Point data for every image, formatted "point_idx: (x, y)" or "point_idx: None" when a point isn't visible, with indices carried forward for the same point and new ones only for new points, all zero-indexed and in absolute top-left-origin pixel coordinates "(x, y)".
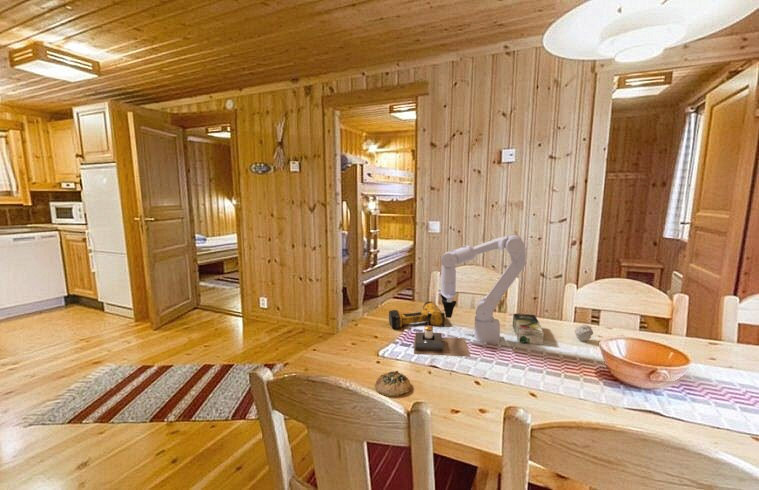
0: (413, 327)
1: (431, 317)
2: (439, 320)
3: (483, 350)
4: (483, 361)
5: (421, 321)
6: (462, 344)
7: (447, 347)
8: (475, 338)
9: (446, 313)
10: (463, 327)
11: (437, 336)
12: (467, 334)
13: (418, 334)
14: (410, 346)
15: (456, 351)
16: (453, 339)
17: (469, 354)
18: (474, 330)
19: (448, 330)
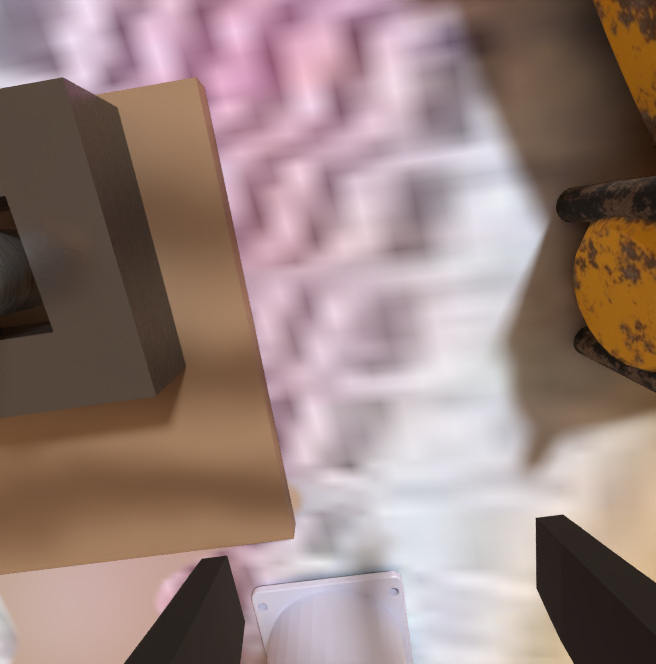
0: (539, 11)
1: (644, 232)
2: (619, 329)
3: None
4: (3, 623)
5: (636, 91)
6: (163, 526)
7: (59, 427)
8: (302, 607)
9: (162, 641)
10: (581, 508)
11: (47, 367)
12: (427, 538)
13: (3, 133)
14: (4, 79)
15: (14, 493)
16: (240, 462)
17: (7, 571)
18: (337, 655)
19: (494, 397)
